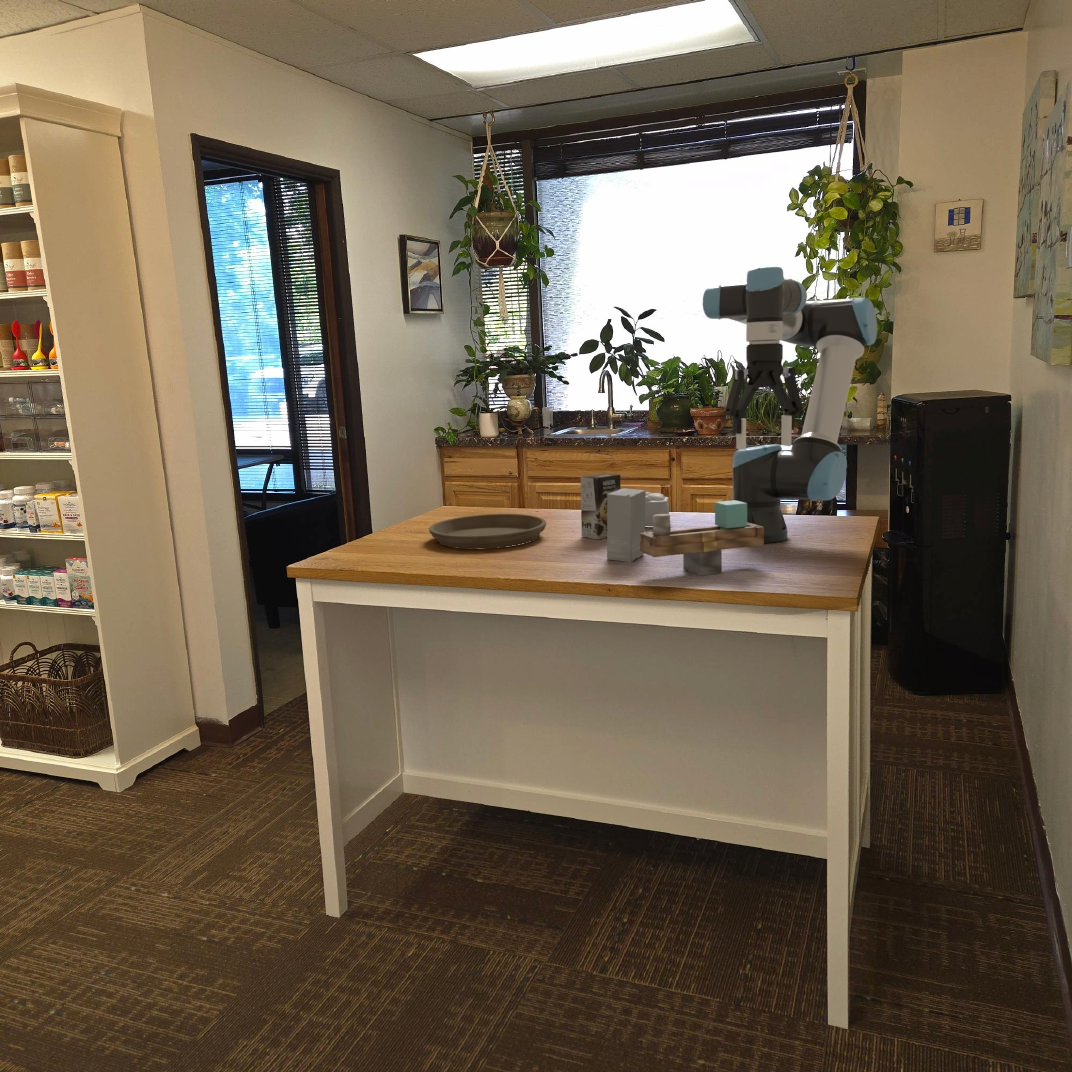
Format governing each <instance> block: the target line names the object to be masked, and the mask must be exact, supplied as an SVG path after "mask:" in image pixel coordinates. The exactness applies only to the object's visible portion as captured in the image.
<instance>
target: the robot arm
mask: <svg viewBox="0 0 1072 1072" xmlns="http://www.w3.org/2000/svg"><path fill="white" fill-rule="evenodd" d="M702 295H703V296H702V310H703V313H704V315H705V316H706V317H707V318H708V319H710V320H722V319H727V320H731V321H735V322H738V323H741V324H743V325H746V330H745V331H746V333H745V336H746V338H745V339H746V340H745V341H746V342H748V344H747V346H746V347H745V348H746V350H745V353H746V363H747V364H746V368H745V369H734V370H733V372H732V373H733V374H732V376H733V379H732V384H731V388H730V392H729V395H728V398H727V403H726V405H725V409H724V415H725V416H728V417H730V418H731V419H732V421H733V422H732V424H733V425H732V428H733V429H732V432H733V434H735V437H736V448H735V449H736V451H735V452H734V454H733V458H732V467H731V470H732V500H737V501H740V502H744V503H747V522H748V523H752V524H755V525H759V526H762V527H764V544H770V543H777V542H782V541H783V542H784V541H785V540H787V539H788V527H787V524H786V520H785V517H784V514H783V512H782V508H781V499H787V500H788V499H790V500H804V501H813V502H817V501H830V500H833V499H835V497H837V496H838V495H839V493H840V492H841V491H842V488H843V487H844V484H845V481H846V478H847V468H848V463H847V462H848V461H847V457H846V456H845V454H844V453H843V450H842V447H841V446H840V444H839V443H838V440H839V436H840V431H841V426H842V423H843V417H844V414H845V409H846V404H847V400H848V396H849V391H850V387H851V383H852V379H853V375H854V368H855V364H856V360H858V359H860V358H861V357H862V356H863V355H864V353H865V349H866V346H871V345H874V344H875V342H876V341H877V336H878V321H877V314H876V310H875V309H876V308H875V306H874V305H873V302H872V301H871V300H870V299H869V298H867V297H854V296H853V297H851V298H834V299H822V300H821V299H819V300H808V299H807V298H808V293H807V289H806V288H805V286H804V285H803V284H802V283H801V282H800V281H797V280H795V279H792V278H789V279H786V278H785V277H784V269H783V268H782V267H780V266H762V267H759V266H758V267H753V268H751V269H749V270H748V271H747V274H746V282H739V283H728V284H727V283H725V284H724V283H723V284H722V283H719V284H716V285H710V286H708V287H706V289H705V291H704V293H703V294H702ZM807 300H808V301H807ZM780 341H782V342H786V343H789V344H792V345H796V346H802V347H808V348H816V350H817V351H818V353H819V358H818V364H817V367H816V371H815V376H814V380H813V384H812V387H811V388H812V390H811V392H810V396H809V401H808V405H807V409H806V415H805V418H804V423H803V427H802V430H801V431H802V432H801V434H800V436H799V437H796V438H795V439H794V440H793V441H792V431H793V430H794V429H795V416H797V415H798V413H800V412H803V410H804V407H803V403H802V399H801V396H800V393H799V387H798V384H797V381H796V380H797V379H796V368H795V367H794V366H785V367H784V366H783V365H782V361H783V359H784V356H783V355H784V353H783V352H784V351H783V350H784V348H783V347H784V346H783V343H780ZM781 376H782V377H783V379H784V380H783V382H784V384H785V388H784V385H783V383H782V381H781ZM746 378H748V381H747V383H746V384H745V380H746ZM744 384H745V389H744V391H743V393H742V390H743V387H744ZM763 388H770V389H771V390H772V391H773V393H774V396H775V397H776V399H777V400H778V402H779V405H780V407H781V408H782V410H783V412H784V414H783V415H781V432H780V433H781V436H780V438H781V444H775V443H774V444H765V445H757V446H752V447H747V418H744V417H743V416H744V415H745V413H746V411H747V409H748V407H749V406H750V403H751V401H752V399H753V398H754V396H755V393H756V392H757V391H758V390H759V389H763ZM785 389H786V391H785ZM741 394H742V395H741ZM782 446H786V447H791V448H790V449H791V450H783V447H782Z"/></svg>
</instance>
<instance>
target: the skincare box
mask: <svg viewBox="0 0 1072 1072" xmlns="http://www.w3.org/2000/svg"><path fill="white" fill-rule="evenodd" d="M646 492H647V490H644V489H636V488H635V489H634V488H626V487H625V488H621V489H620V490H617V491H615V492H612V493H609V494H607V538H606V549H607V550H606V560H609V561H610V560H612V561H619V562H627V561H629V562H628V563H630V561H631V562H633V561H635V560H636V558H637V559H638V558H640V557H641V556H643V555H645V553H643V552H641V551H640V533H644V532H646V528H645V496H646Z"/></svg>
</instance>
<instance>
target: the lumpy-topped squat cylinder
mask: <svg viewBox="0 0 1072 1072" xmlns="http://www.w3.org/2000/svg"><path fill="white" fill-rule="evenodd" d="M656 514H668V515H670V498H669V497H667V496H665V495H664V494H662V493H658V492H653V493H652V492H650V491H646V496H645V526H653V515H656Z"/></svg>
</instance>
